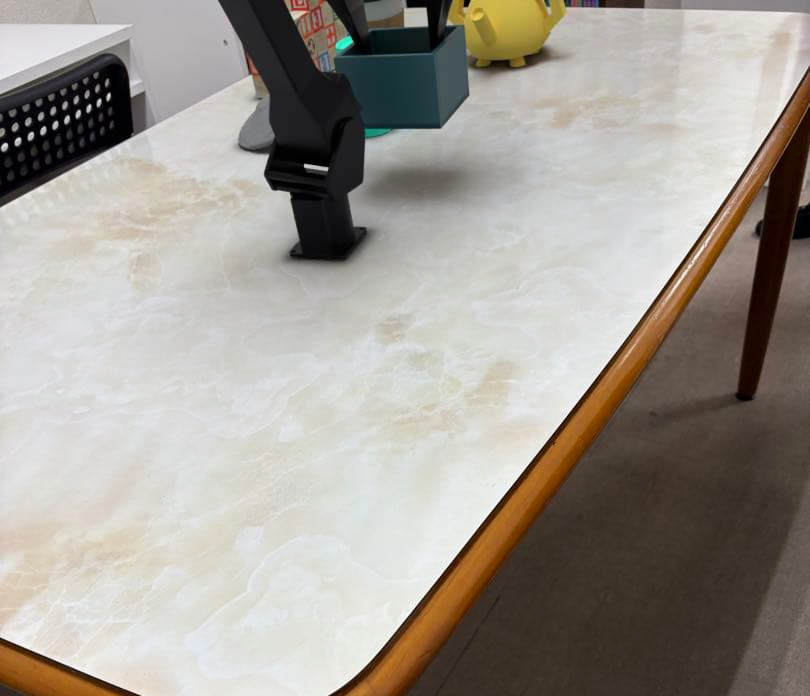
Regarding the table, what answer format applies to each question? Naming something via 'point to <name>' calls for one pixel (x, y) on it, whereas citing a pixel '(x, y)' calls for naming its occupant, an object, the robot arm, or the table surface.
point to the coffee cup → (384, 13)
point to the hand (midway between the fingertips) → (401, 60)
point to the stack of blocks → (311, 36)
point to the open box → (407, 77)
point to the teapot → (506, 27)
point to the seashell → (257, 128)
